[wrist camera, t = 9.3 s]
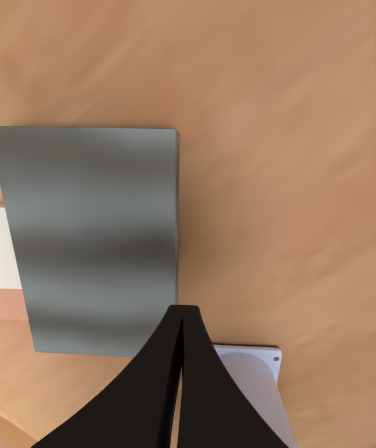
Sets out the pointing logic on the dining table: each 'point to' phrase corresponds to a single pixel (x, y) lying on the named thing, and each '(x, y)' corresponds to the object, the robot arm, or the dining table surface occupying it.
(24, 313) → the mat
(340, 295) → the dining table surface
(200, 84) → the dining table surface
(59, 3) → the dining table surface
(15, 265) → the coaster
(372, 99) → the dining table surface
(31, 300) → the plate
